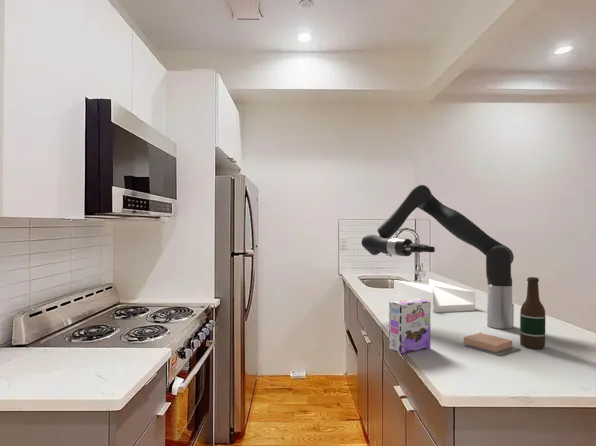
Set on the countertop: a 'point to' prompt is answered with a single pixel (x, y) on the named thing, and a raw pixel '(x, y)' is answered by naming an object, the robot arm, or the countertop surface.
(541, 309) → the beer bottle
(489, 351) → the slate mat
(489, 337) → the tile
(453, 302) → the building model
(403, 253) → the robot arm
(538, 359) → the countertop surface
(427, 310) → the candy box
